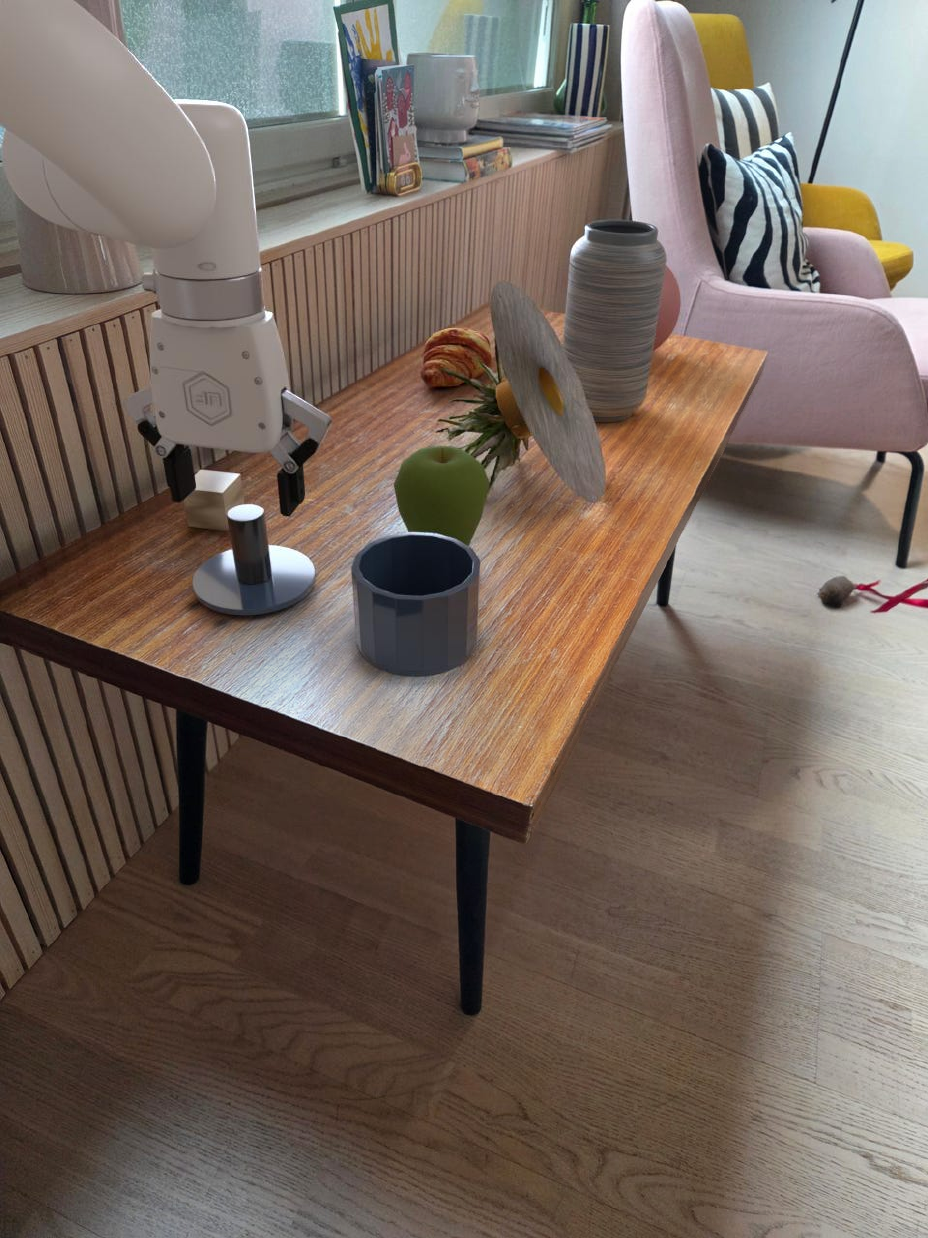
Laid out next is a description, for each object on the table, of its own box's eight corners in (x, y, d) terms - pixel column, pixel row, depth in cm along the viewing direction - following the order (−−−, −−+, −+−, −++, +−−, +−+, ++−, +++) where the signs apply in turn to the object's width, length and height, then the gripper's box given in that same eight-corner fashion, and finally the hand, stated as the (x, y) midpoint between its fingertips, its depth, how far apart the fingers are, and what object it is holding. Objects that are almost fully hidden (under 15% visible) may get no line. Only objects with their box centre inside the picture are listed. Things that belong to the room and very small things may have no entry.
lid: (199, 630, 73) (184, 553, 69) (189, 565, 81) (175, 492, 77) (327, 608, 76) (320, 533, 72) (304, 548, 85) (297, 477, 80)
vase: (545, 397, 119) (559, 218, 105) (622, 391, 121) (645, 215, 108) (575, 430, 110) (595, 238, 96) (658, 423, 112) (688, 235, 99)
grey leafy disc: (535, 478, 114) (410, 332, 104) (647, 410, 104) (520, 241, 94) (496, 598, 96) (341, 436, 86) (627, 531, 86) (468, 338, 76)
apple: (380, 563, 82) (375, 453, 76) (427, 527, 88) (426, 421, 82) (457, 590, 79) (459, 477, 72) (501, 550, 85) (506, 442, 78)
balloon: (566, 379, 125) (577, 268, 116) (575, 337, 141) (585, 237, 132) (673, 388, 123) (692, 276, 114) (670, 345, 139) (686, 243, 130)
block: (188, 526, 87) (181, 488, 85) (206, 507, 91) (200, 469, 88) (228, 531, 87) (222, 492, 84) (246, 511, 90) (240, 473, 88)
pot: (373, 686, 68) (369, 609, 63) (345, 615, 75) (340, 541, 71) (494, 663, 70) (498, 586, 66) (455, 596, 78) (456, 524, 74)
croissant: (466, 369, 137) (445, 321, 134) (521, 348, 132) (500, 297, 129) (411, 413, 121) (386, 359, 118) (471, 390, 115) (446, 333, 112)
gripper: (76, 296, 62) (121, 509, 71) (305, 318, 59) (320, 535, 69) (129, 273, 68) (164, 472, 77) (339, 292, 65) (348, 495, 75)
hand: (237, 502), depth 73 cm, fingers open, 9 cm apart
